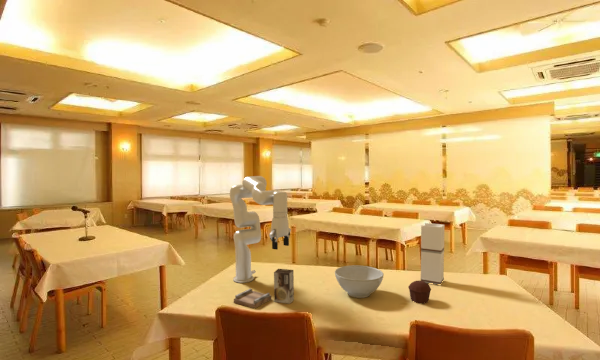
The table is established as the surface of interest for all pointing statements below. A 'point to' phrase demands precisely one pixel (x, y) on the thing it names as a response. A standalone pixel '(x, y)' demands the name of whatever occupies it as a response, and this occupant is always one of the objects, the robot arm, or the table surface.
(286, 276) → the coffee box
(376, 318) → the table surface
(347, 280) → the decorative bowl
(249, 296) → the stand
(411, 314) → the table surface
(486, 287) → the table surface
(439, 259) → the mini fridge
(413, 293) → the muffin
